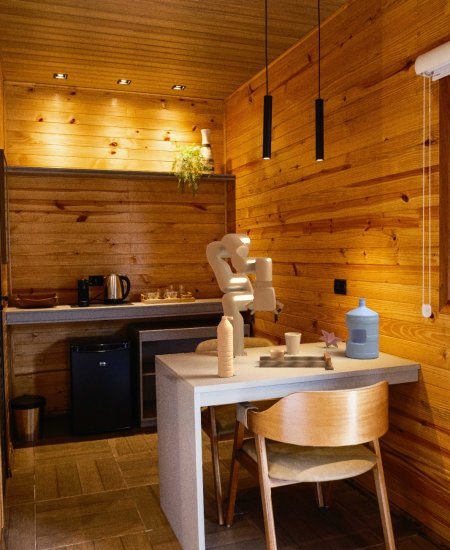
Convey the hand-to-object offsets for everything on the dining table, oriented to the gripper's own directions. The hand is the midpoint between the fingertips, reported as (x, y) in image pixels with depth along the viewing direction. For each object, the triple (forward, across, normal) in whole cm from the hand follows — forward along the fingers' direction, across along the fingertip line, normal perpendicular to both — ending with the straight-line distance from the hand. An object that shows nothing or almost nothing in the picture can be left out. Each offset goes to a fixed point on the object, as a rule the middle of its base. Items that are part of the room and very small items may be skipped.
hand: (264, 323), depth 252 cm
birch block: (+18, +6, -1) cm, 19 cm away
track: (+19, +14, -1) cm, 24 cm away
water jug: (+20, +46, +23) cm, 55 cm away
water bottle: (+20, -15, -22) cm, 33 cm away
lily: (+19, +33, +45) cm, 59 cm away
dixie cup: (+19, +13, +30) cm, 38 cm away
